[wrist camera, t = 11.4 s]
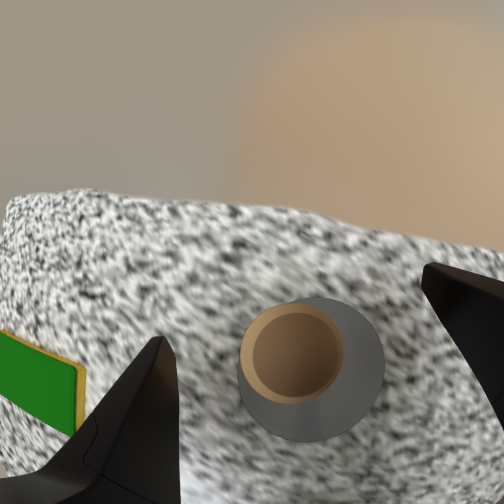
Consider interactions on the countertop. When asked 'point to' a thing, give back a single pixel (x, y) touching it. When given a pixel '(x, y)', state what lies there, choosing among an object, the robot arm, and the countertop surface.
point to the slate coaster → (338, 394)
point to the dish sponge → (42, 383)
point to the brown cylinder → (291, 353)
